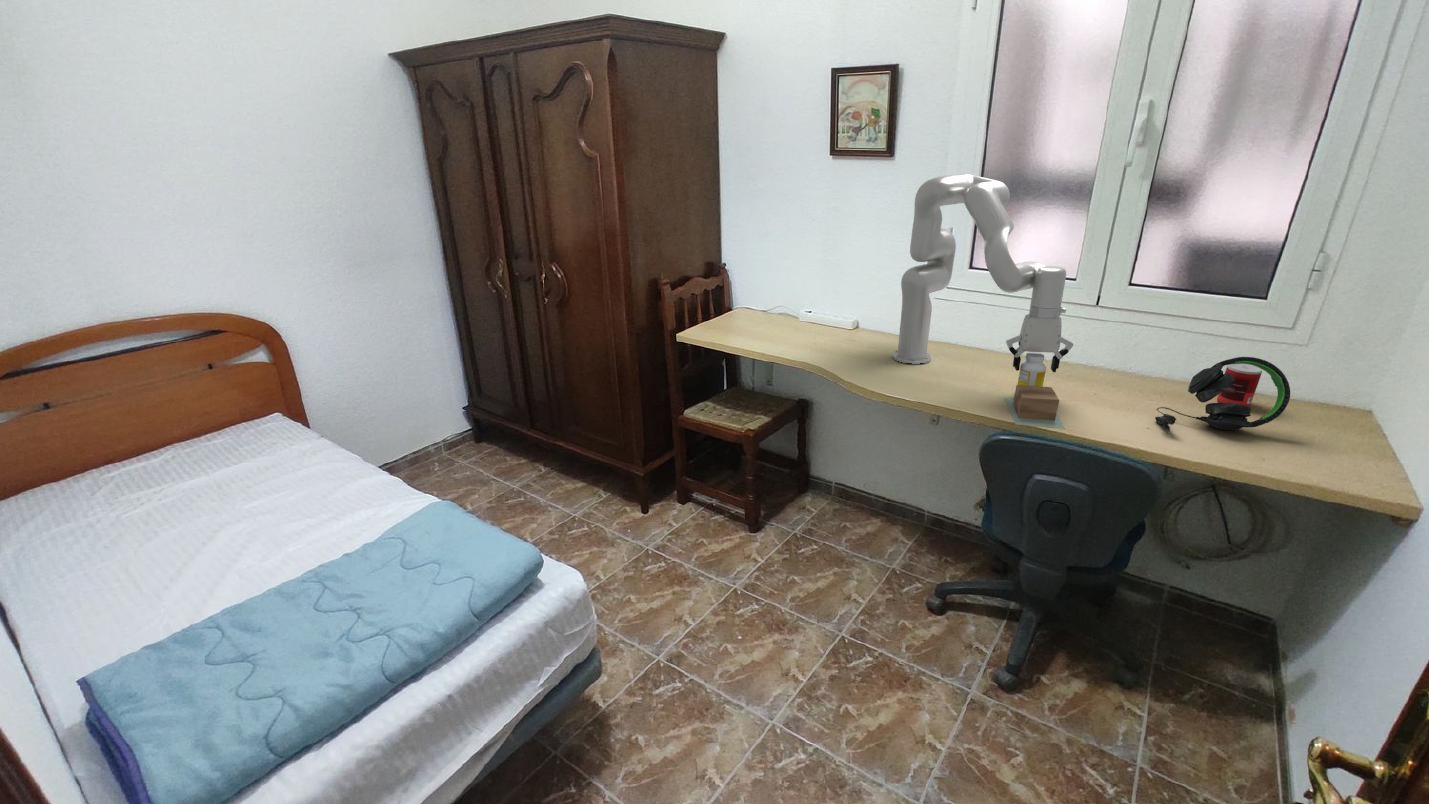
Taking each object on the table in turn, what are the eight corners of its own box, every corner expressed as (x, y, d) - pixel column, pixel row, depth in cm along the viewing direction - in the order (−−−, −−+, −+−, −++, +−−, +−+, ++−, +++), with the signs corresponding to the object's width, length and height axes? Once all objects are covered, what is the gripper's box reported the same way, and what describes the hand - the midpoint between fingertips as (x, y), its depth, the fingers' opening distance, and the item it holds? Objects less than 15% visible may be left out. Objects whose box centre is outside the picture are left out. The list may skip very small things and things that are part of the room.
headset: (1167, 452, 173) (1294, 412, 162) (1179, 453, 160) (1318, 410, 150) (1137, 390, 176) (1260, 348, 166) (1146, 387, 164) (1280, 340, 153)
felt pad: (1004, 399, 186) (1004, 397, 185) (1049, 402, 183) (1049, 401, 183) (1015, 426, 170) (1015, 424, 170) (1064, 430, 167) (1065, 428, 167)
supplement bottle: (1040, 393, 189) (1048, 352, 184) (1040, 402, 184) (1048, 360, 178) (1015, 390, 192) (1023, 349, 187) (1015, 398, 186) (1022, 357, 181)
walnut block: (1012, 404, 181) (1016, 384, 179) (1047, 407, 179) (1051, 387, 177) (1018, 417, 173) (1022, 397, 171) (1054, 420, 171) (1059, 400, 169)
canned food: (1243, 399, 182) (1255, 363, 177) (1254, 410, 175) (1268, 373, 171) (1211, 396, 184) (1223, 360, 180) (1221, 407, 177) (1233, 370, 173)
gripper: (1075, 309, 178) (1064, 367, 185) (1008, 307, 183) (1000, 364, 189) (1082, 316, 172) (1071, 376, 178) (1013, 314, 176) (1004, 373, 183)
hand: (1034, 369), depth 184 cm, fingers open, 9 cm apart
